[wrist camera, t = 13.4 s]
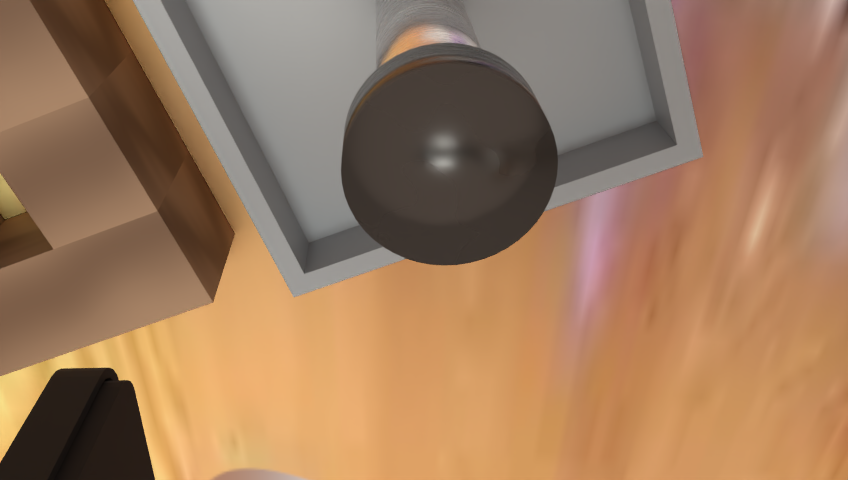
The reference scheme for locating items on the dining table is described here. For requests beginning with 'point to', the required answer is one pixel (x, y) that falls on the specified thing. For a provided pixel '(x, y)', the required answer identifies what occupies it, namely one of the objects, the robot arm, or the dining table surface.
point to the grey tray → (356, 60)
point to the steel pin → (444, 141)
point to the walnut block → (93, 189)
